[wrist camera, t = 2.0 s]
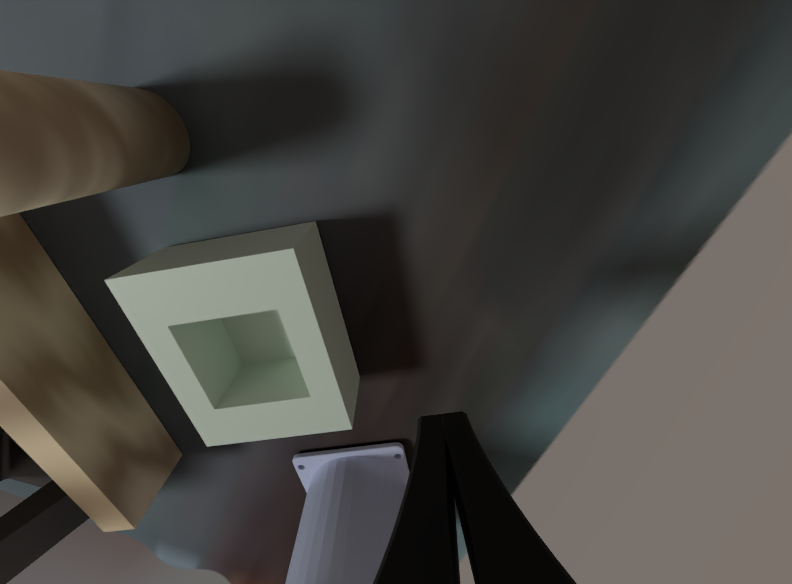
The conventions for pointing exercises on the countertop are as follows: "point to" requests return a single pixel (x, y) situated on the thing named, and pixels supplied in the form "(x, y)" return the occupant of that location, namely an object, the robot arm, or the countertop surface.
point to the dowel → (81, 139)
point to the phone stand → (32, 512)
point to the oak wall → (73, 392)
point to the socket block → (246, 333)
